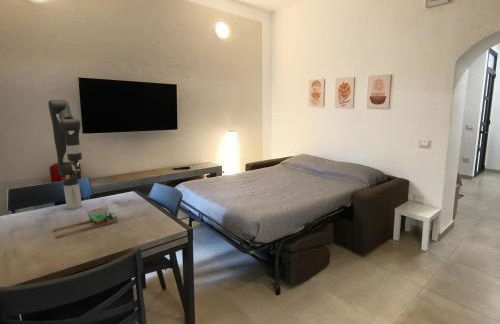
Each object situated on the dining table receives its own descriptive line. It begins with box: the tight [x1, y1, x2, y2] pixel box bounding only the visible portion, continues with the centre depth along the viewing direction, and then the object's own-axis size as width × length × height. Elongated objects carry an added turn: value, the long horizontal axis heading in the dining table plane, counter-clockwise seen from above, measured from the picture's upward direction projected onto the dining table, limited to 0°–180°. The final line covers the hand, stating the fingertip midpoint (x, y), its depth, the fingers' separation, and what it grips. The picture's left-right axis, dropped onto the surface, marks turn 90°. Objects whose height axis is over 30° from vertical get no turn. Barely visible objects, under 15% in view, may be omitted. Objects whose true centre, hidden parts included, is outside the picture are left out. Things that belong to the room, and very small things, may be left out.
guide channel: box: [52, 211, 118, 239], centre depth 172 cm, size 11×32×4 cm, turn 131°
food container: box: [86, 204, 109, 226], centre depth 175 cm, size 12×6×10 cm, turn 142°
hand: (77, 177), depth 175 cm, fingers open, 8 cm apart
